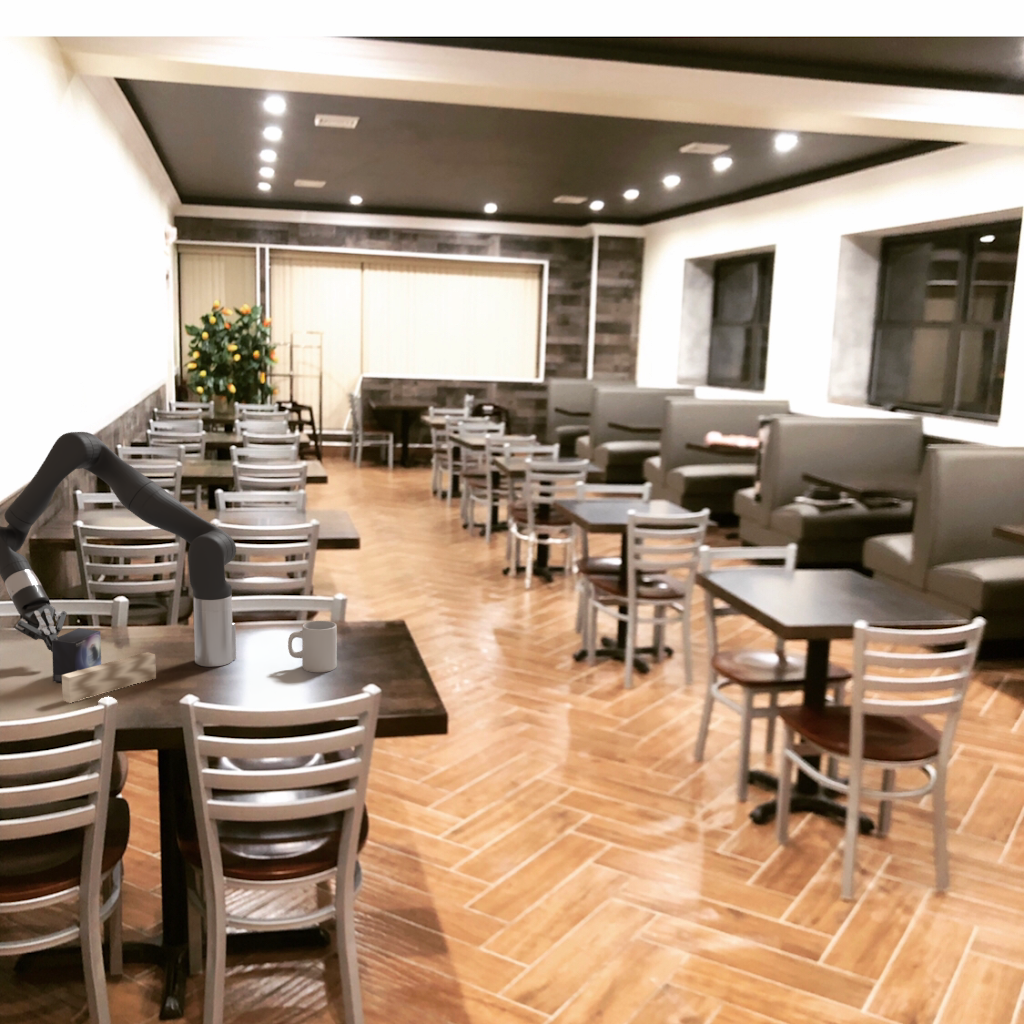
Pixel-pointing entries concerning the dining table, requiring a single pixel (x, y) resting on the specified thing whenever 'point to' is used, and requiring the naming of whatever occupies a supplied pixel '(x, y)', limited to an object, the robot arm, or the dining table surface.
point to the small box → (75, 652)
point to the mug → (316, 646)
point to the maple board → (108, 676)
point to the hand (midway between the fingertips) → (56, 649)
